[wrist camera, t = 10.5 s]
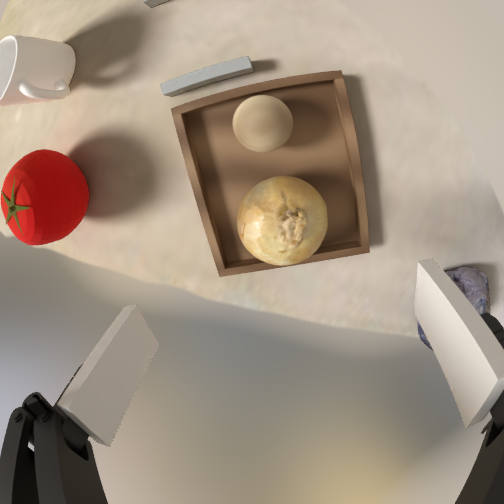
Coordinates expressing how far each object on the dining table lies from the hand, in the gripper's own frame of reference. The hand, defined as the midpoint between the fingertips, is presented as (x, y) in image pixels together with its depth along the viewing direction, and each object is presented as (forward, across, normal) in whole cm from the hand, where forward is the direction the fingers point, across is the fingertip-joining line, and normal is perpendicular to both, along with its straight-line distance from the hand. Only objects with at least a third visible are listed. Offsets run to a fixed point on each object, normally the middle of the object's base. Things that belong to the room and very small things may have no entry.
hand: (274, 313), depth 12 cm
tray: (+17, 0, +3) cm, 17 cm away
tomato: (+17, -24, +9) cm, 31 cm away
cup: (+17, -22, +23) cm, 36 cm away
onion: (+17, 0, -1) cm, 17 cm away
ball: (+16, 0, +8) cm, 18 cm away
